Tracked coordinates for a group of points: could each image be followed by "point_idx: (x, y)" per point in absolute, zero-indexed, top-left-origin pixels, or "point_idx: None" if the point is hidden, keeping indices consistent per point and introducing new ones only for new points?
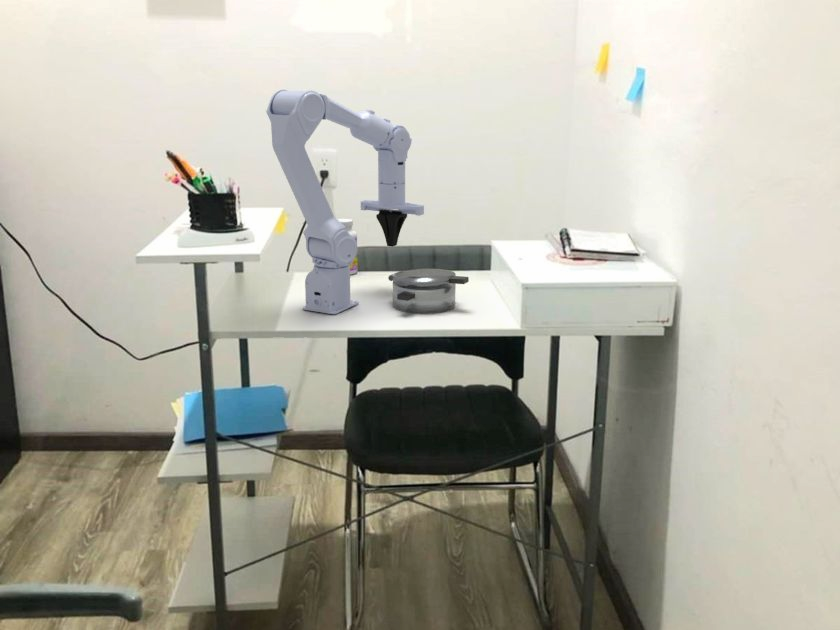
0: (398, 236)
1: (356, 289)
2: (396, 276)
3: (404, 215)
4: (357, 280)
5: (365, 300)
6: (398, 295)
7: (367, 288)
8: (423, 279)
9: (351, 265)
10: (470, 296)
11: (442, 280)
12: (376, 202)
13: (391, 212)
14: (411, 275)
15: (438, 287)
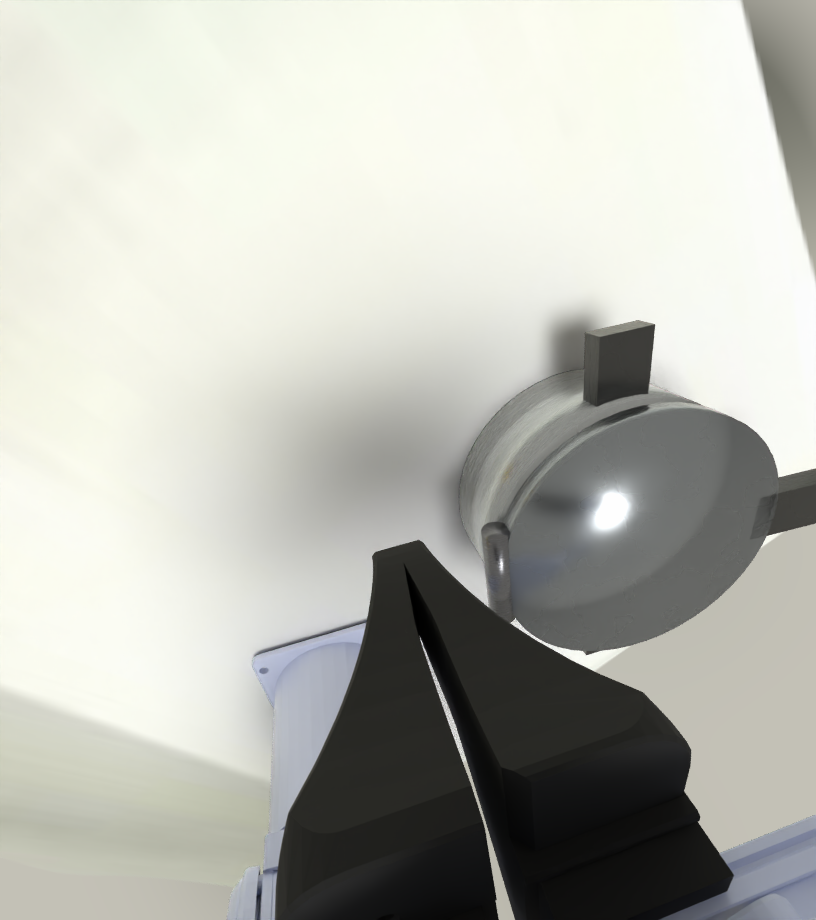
0: (450, 575)
1: (200, 506)
2: (537, 618)
3: (672, 788)
4: (23, 383)
5: (363, 576)
6: (588, 651)
7: (222, 462)
8: (668, 596)
9: None
10: (678, 253)
11: (744, 567)
12: None
13: (482, 916)
14: (589, 576)
15: None
